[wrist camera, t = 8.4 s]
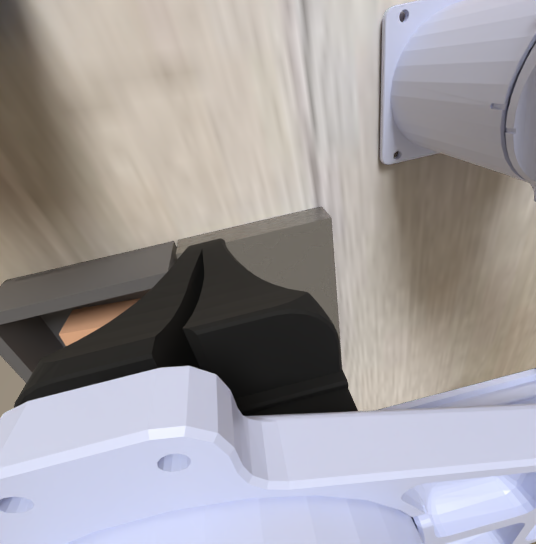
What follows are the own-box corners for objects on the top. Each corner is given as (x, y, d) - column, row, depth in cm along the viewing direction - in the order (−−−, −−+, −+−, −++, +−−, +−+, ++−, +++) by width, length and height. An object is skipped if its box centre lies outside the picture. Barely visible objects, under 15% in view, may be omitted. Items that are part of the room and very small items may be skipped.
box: (173, 241, 21) (167, 272, 18) (230, 388, 30) (233, 428, 27) (5, 280, 21) (-33, 319, 17) (112, 418, 29) (100, 463, 26)
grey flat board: (321, 206, 22) (331, 217, 20) (335, 362, 30) (342, 378, 29) (178, 240, 21) (175, 254, 20) (233, 388, 30) (235, 406, 28)
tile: (159, 295, 23) (154, 317, 21) (179, 353, 26) (177, 378, 24) (72, 309, 22) (58, 334, 20) (104, 367, 25) (95, 393, 23)
